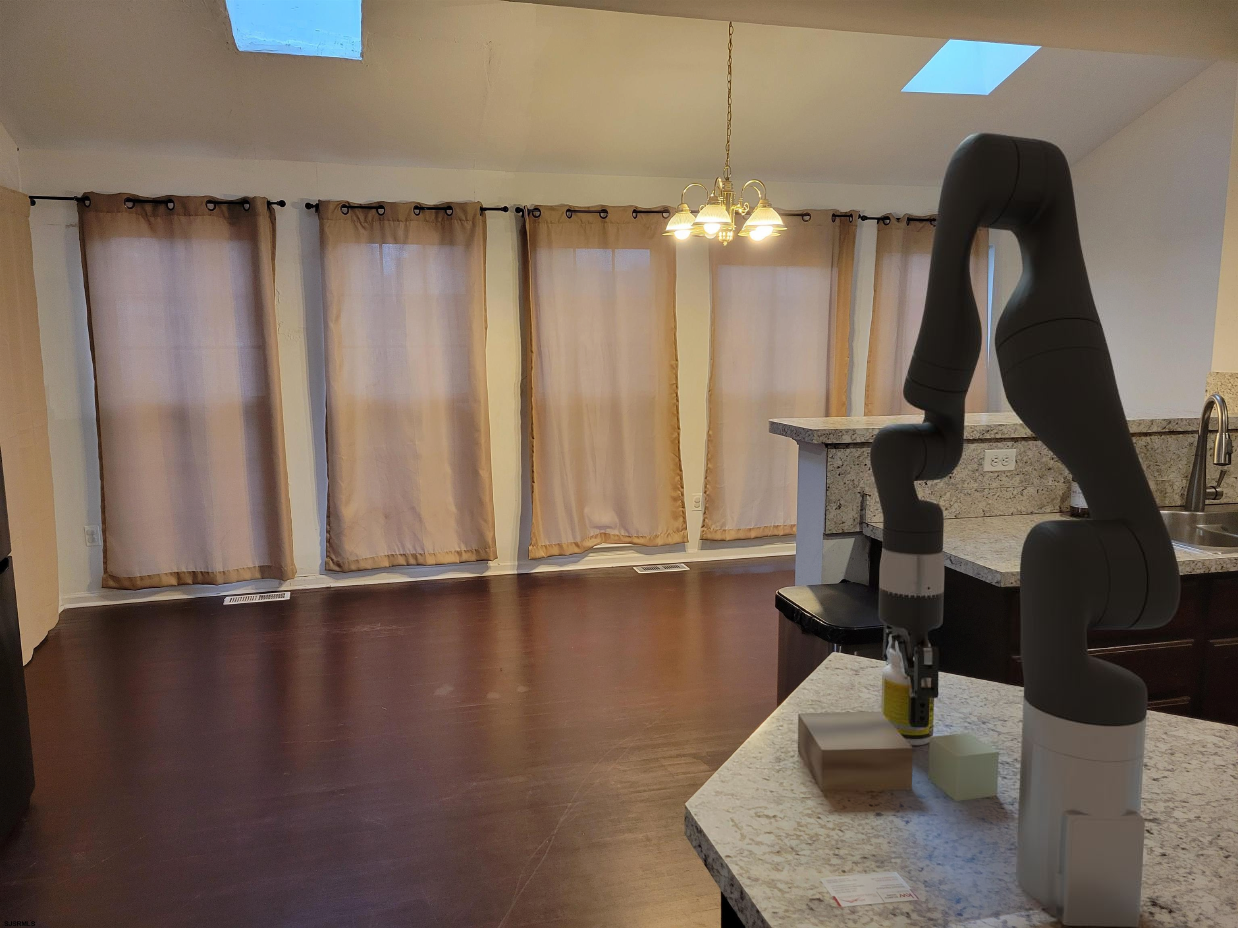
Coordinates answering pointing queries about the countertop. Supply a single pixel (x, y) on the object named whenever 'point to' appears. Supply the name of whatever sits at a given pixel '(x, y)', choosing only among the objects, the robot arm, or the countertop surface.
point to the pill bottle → (902, 703)
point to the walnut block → (854, 751)
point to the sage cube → (963, 766)
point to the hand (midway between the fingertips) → (907, 712)
